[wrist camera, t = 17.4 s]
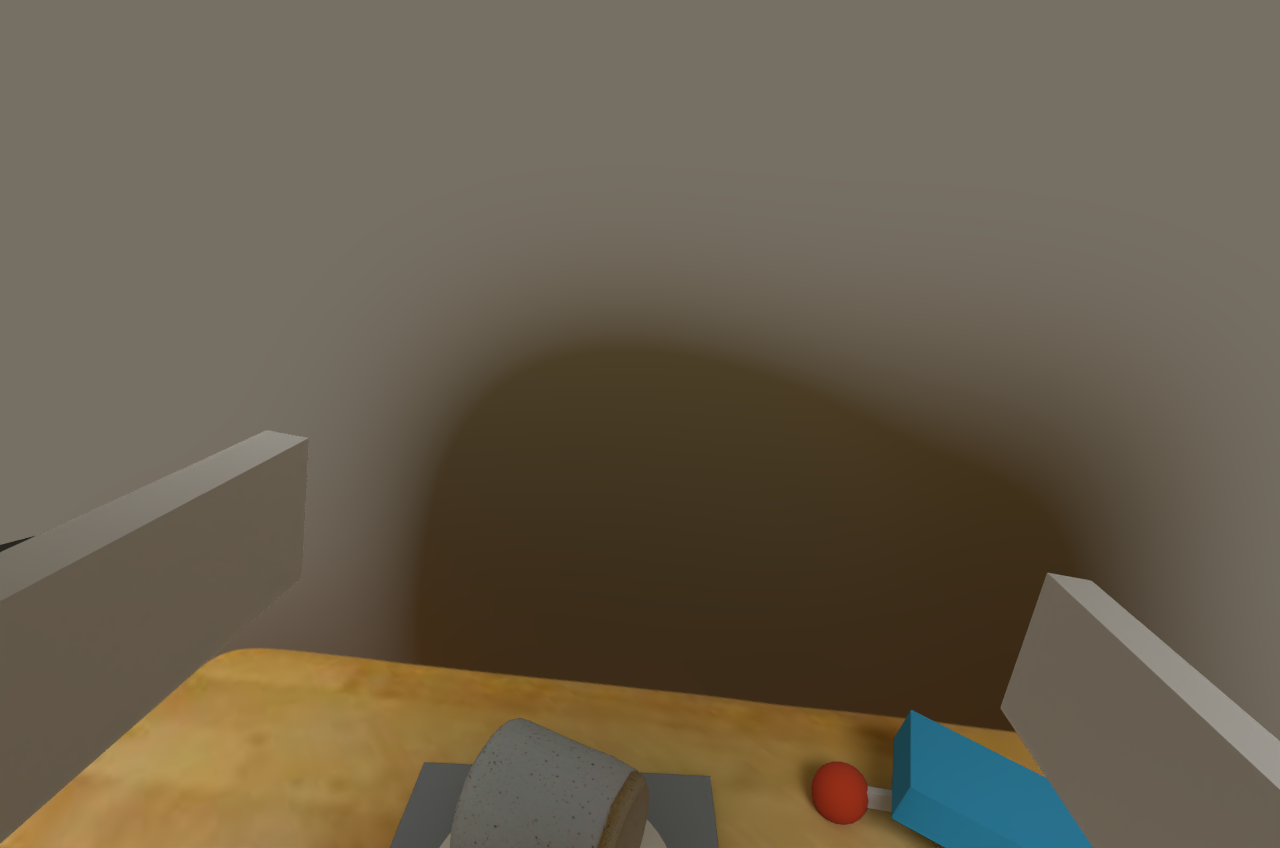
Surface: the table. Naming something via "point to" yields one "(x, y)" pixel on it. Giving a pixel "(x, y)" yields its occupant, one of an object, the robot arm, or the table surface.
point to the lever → (952, 794)
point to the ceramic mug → (548, 795)
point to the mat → (672, 836)
